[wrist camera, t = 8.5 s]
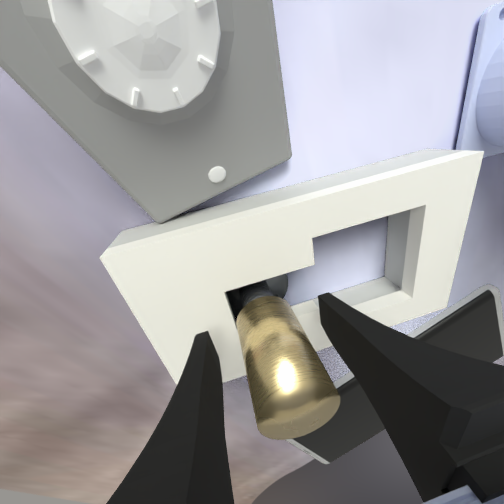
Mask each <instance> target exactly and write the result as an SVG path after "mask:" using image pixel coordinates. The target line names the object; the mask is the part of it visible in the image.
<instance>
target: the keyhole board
mask: <svg viewBox="0 0 504 504" xmlns="http://www.w3.org/2000/svg"><path fill="white" fill-rule="evenodd" d="M483 155H484V151H471V150H447V149H424V150H420V151H416V152H413V153H409V154H405V155H401V156H398V157H394V158H390V159H387V160H383V161H379V162H376V163H372V164H368V165H364V166H361V167H357V168H353V169H350V170H346V171H342V172H338V173H335V174H331V175H327V176H324V177H320V178H316V179H313V180H309V181H305V182H301V183H298V184H294V185H290V186H287V187H283V188H279V189H275V190H272V191H268V192H264V193H261V194H257V195H253V196H249V197H246V198H242V199H238V200H235V201H231V202H227V203H224V204H220V205H216V206H212V207H209V208H205V209H201V210H198V211H194V212H190V213H186V214H183V215H179V216H175V217H173V218H171V219H169V220H167V221H165V222H163V223H157V222H153V223H149V224H146V225H142V226H138V227H135V228H131V229H127V230H123V231H121V233H120V234H119V235H118V236H117V237H116V239H115V240H114V241H113V242H112V243H111V245H110V246H109V247H108V248H107V249H106V251H105V252H104V253H103V254H102V255H101V257H100V259H101V261H102V263H103V264H104V266H105V268H106V269H107V271H108V272H109V274H110V276H111V277H112V279H113V281H114V282H115V284H116V286H117V287H118V289H119V291H120V292H121V294H122V296H123V297H124V299H125V301H126V302H127V304H128V305H129V307H130V309H131V310H132V312H133V314H134V315H135V317H136V319H137V320H138V322H139V324H140V325H141V327H142V329H143V330H144V332H145V334H146V335H147V337H148V338H149V340H150V342H151V343H152V345H153V347H154V348H155V350H156V352H157V353H158V355H159V357H160V358H161V360H162V362H163V363H164V365H165V366H166V368H167V370H168V371H169V373H170V375H171V376H172V378H173V380H174V381H175V383H176V385H177V384H178V382H179V380H180V377H181V375H182V372H183V370H184V367H185V364H186V362H187V359H188V356H189V353H190V350H191V347H192V344H193V341H194V337H195V335H196V334H199V333H202V332H205V331H208V332H209V334H210V337H211V339H212V342H213V344H214V346H215V349H216V351H217V353H218V356H219V360H220V366H221V373H222V383H225V382H228V381H231V380H234V379H236V378H239V377H242V376H245V375H247V374H246V369H245V364H244V360H243V355H242V350H241V345H240V340H239V335H238V330H237V325H236V321H235V318H234V315H233V312H232V309H231V306H230V303H229V300H228V297H227V294H226V291H229V290H233V289H236V288H239V287H243V286H246V285H249V284H252V283H256V282H259V281H262V280H266V279H269V278H272V277H276V276H279V275H282V274H285V273H289V272H292V271H295V270H299V269H302V268H305V267H309V266H312V265H315V262H314V252H313V242H312V238H314V237H317V236H320V235H324V234H327V233H331V232H334V231H338V230H341V229H344V228H348V227H351V226H355V225H358V224H361V223H365V222H368V221H372V220H375V219H379V218H382V217H385V216H388V230H387V244H386V258H385V273H384V277H381V278H378V279H375V280H372V281H368V282H365V283H362V284H359V285H356V286H353V287H350V288H346V289H343V290H340V291H337V292H334V293H331V294H332V295H334V296H335V297H337V298H338V299H340V300H342V301H343V302H345V303H346V304H348V305H350V306H351V307H353V308H355V309H356V310H358V311H360V312H361V313H363V314H365V315H367V316H368V317H370V318H372V319H374V320H376V321H378V322H380V323H382V324H384V325H386V326H388V327H390V326H393V325H396V324H399V323H402V322H405V321H408V320H411V319H414V318H417V317H420V316H423V315H426V314H429V313H432V312H435V311H438V310H441V309H444V308H447V304H448V299H449V295H450V291H451V287H452V283H453V279H454V275H455V271H456V266H457V262H458V258H459V254H460V250H461V246H462V242H463V237H464V233H465V229H466V225H467V221H468V217H469V213H470V208H471V204H472V200H473V196H474V192H475V188H476V184H477V179H478V175H479V171H480V167H481V163H482V159H483ZM291 308H292V310H293V312H294V313H295V315H296V317H297V319H298V321H299V322H300V324H301V326H302V328H303V330H304V331H305V333H306V335H307V337H308V339H309V340H310V342H311V344H312V346H313V348H314V349H315V351H319V350H322V349H325V348H328V347H331V346H333V345H332V343H331V342H330V340H329V338H328V337H327V335H326V333H325V331H324V329H323V327H322V325H321V323H320V312H319V302H318V298H315V299H312V300H308V301H305V302H302V303H299V304H296V305H293V306H291Z"/></svg>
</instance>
